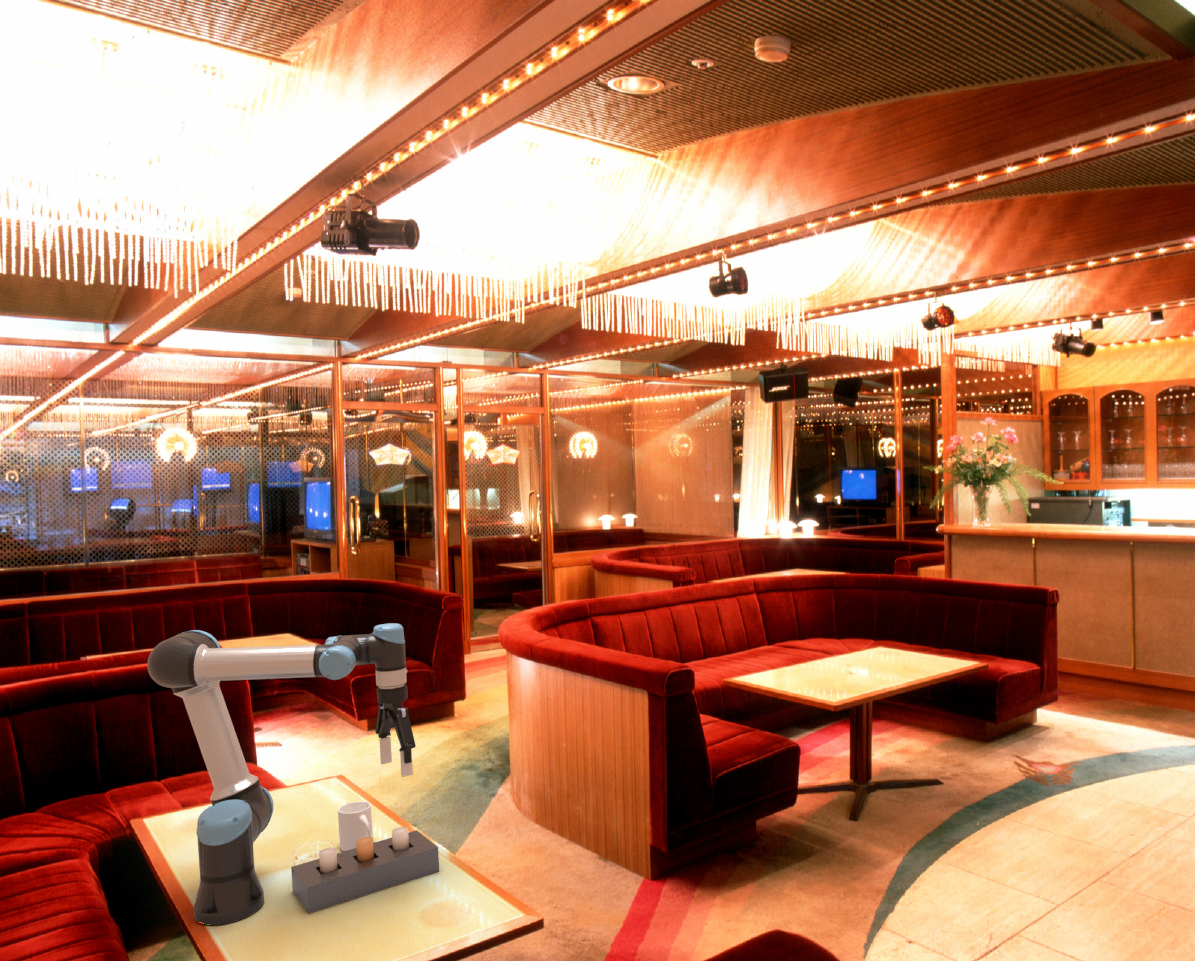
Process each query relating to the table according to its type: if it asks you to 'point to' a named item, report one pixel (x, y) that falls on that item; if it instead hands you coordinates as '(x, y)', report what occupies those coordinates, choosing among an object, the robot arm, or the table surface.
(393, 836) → the cream rounded knob
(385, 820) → the table surface
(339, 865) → the panel
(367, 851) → the knob mid
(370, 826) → the mug
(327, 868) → the knob near
